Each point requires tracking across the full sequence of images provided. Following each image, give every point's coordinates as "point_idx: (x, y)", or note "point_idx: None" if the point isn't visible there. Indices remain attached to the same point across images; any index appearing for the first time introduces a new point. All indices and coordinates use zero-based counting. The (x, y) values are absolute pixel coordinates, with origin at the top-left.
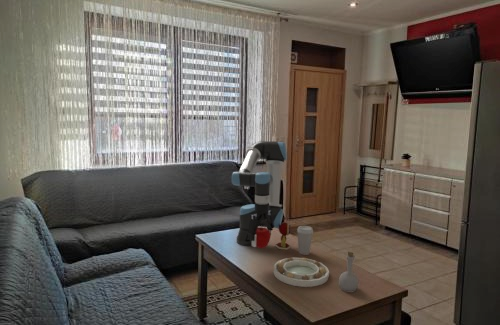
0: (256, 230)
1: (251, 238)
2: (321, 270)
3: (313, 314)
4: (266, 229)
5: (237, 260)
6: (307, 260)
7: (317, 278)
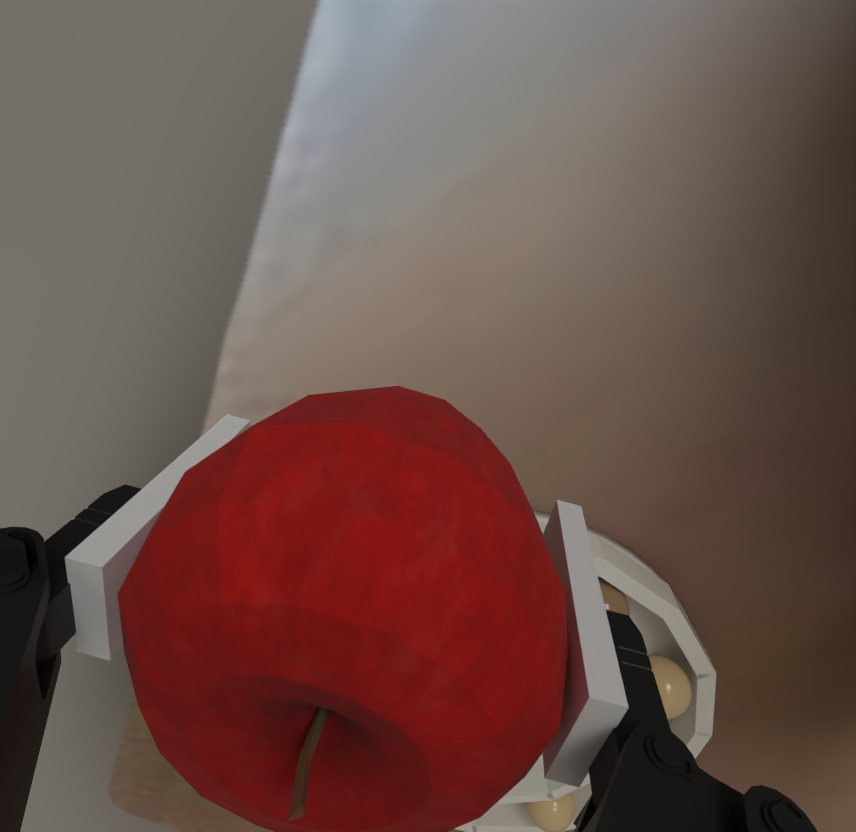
0: (24, 768)
1: (85, 523)
2: (528, 811)
3: (145, 799)
4: (404, 830)
5: (381, 60)
6: (693, 696)
7: None
